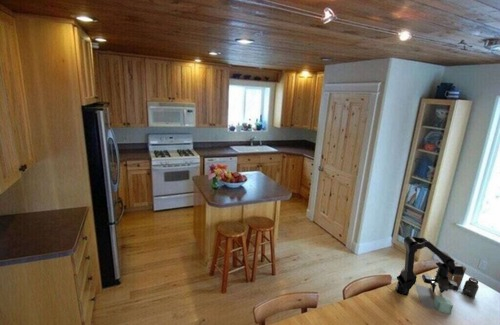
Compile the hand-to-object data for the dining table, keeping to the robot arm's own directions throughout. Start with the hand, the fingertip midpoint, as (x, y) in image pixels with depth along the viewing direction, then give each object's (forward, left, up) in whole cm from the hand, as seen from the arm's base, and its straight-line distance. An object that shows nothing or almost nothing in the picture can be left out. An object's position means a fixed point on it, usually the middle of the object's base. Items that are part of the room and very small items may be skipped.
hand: (436, 293), depth 171 cm
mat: (-3, -4, -2) cm, 6 cm away
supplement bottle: (+22, +11, -3) cm, 25 cm away
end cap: (0, -11, -2) cm, 12 cm away
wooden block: (+15, +19, -3) cm, 24 cm away
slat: (0, 0, -2) cm, 2 cm away
